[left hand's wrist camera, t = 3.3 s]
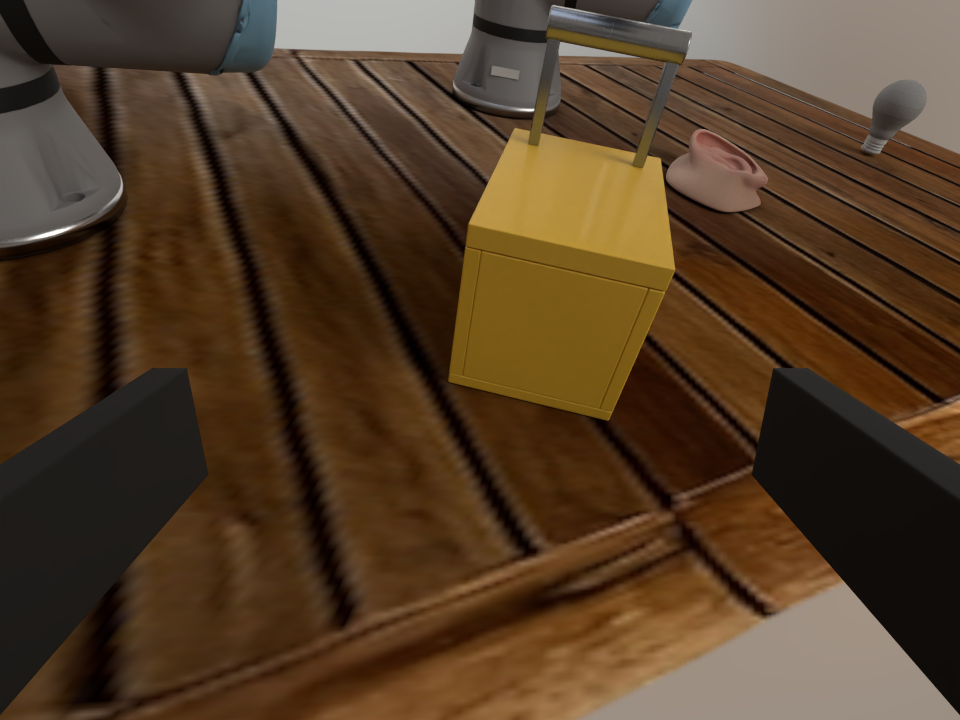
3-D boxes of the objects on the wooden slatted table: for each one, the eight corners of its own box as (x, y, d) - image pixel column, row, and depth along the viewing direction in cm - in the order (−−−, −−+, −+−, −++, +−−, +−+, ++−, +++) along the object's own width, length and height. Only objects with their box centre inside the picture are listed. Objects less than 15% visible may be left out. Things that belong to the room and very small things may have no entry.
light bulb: (851, 154, 79) (895, 81, 72) (843, 141, 83) (885, 71, 76) (894, 164, 78) (943, 91, 71) (884, 151, 82) (930, 80, 75)
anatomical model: (766, 186, 54) (658, 149, 58) (747, 222, 56) (646, 184, 60) (789, 153, 62) (695, 123, 66) (772, 186, 65) (682, 155, 69)
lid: (511, 146, 38) (537, -5, 32) (654, 176, 37) (707, 28, 31) (465, 246, 27) (490, 46, 21) (665, 291, 26) (751, 98, 20)
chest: (490, 266, 44) (510, 149, 38) (612, 294, 43) (654, 180, 37) (447, 382, 34) (465, 247, 27) (608, 421, 33) (665, 292, 26)
